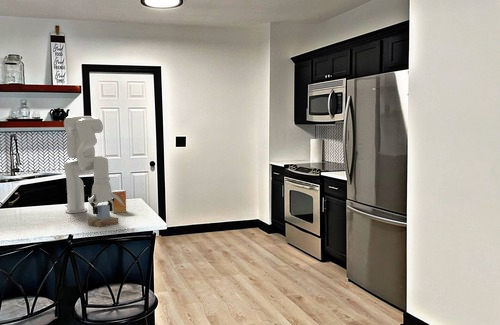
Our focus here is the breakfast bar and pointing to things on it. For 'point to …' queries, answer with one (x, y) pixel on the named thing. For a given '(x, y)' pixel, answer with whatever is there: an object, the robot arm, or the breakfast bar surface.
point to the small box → (119, 201)
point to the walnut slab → (103, 222)
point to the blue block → (103, 212)
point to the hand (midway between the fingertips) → (102, 212)
